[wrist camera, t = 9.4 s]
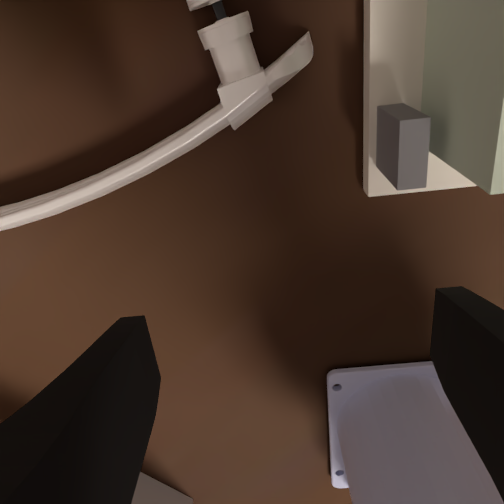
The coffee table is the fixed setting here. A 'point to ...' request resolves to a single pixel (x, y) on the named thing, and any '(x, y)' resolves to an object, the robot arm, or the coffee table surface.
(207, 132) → the door handle
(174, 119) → the coffee table surface
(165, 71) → the coffee table surface
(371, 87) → the plate with corner feet
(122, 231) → the coffee table surface
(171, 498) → the hinge
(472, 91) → the long rectangular block
